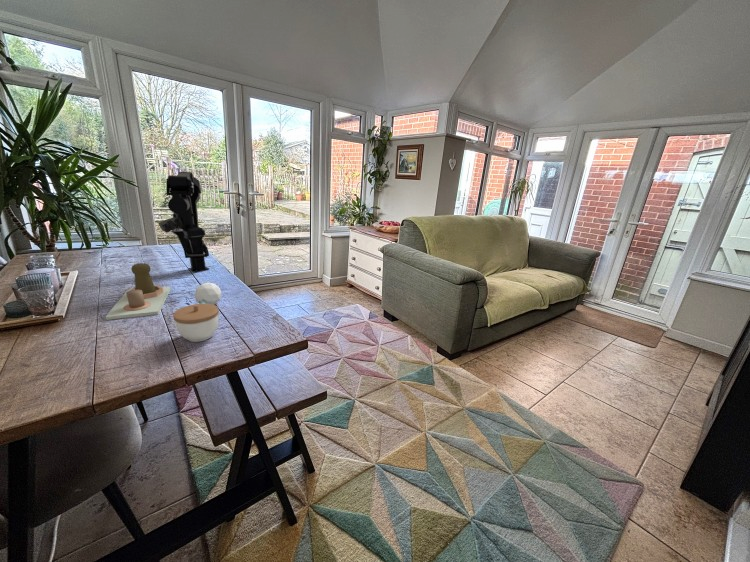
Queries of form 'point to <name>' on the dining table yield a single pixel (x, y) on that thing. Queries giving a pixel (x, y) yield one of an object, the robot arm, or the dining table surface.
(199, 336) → the lidded jar
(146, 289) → the cork
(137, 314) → the pin board
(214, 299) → the faceted white bauble
